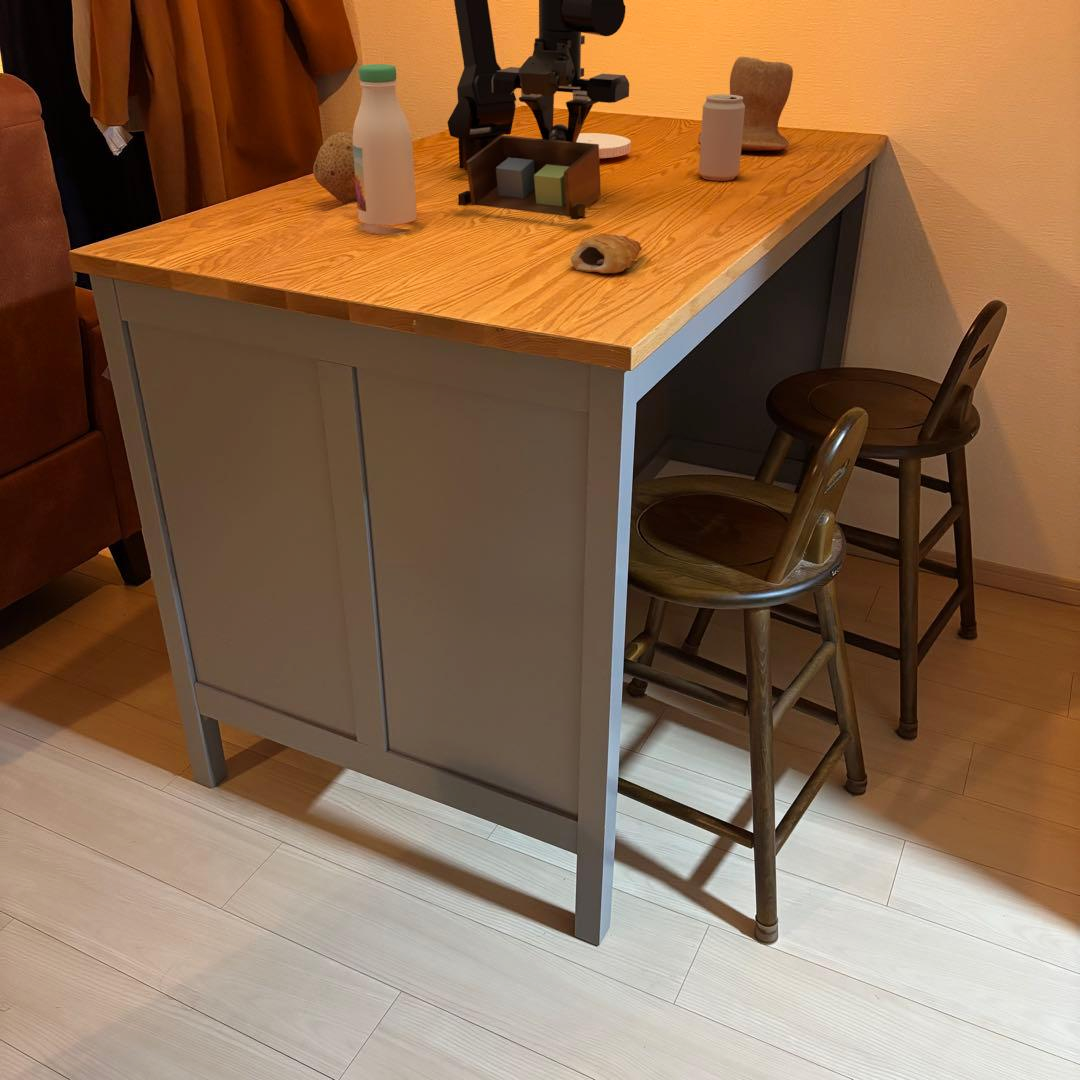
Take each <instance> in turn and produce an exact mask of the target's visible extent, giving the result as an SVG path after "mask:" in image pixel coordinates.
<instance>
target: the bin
mask: <svg viewBox="0 0 1080 1080" xmlns="http://www.w3.org/2000/svg"><path fill="white" fill-rule="evenodd" d="M567 134H568V126H566V125H565V124H563V123H557V124H553V127H552V128H551V129H550V131H549V135H548V138H549V139H548V140H547V139H542V138H534V137H526V136H515V135H506V134H505V135H500V136H499V137H497V138H496V139H495V140H494V141H492V142H491V143H490V144H488V145H487V146H486V147H485V148H483V149H482V150H481V151H479V152H478V153H477V154H475V155H474V156H473V157H472V158H470V159H469V160H468V161H466V165H467V170H466V171H467V180H468V188H469V191H470V197H471V203H470V204H471V205H472V206H480V207H481V206H482V207H488V208H497V209H504V210H505V209H506V210H512V211H513V210H514V211H522V212H529V213H530V212H531V213H536V214H537V213H538V214H545V215H552V216H553V215H554V216H562V217H568V218H569V217H570V218H571V208H572V207H574V206H576V205H578V204H583V205H585V210H586V209H587V208H589V207H591V206H592V205H593V203H595V202H596V200H598V198H599V197H601V195H602V192H601V191H602V190H601V167H600V158H599V144H590V143H579V142H569V141H567ZM507 158H519V159H529V160H534V169H535V174H536V173H537V172H538V171H539V170H540V169H542V168H543V167H544V166H545V165H546V164H549V165H558V166H568V167H569V168H568V169H567V170H565V171H564V184H565V199H566V204H565V205H563V206H553V205H545V204H537V203H536V194H535V189H534V190H533V191H532V192H531V193H529V194H528V195H527V196H526V197H525V198H524V199H522V198H514V197H506V196H499V195H498V185H497V176H496V167H497V166H499V165H500V164H501V163H502V162H504V161H505V160H506V159H507Z"/></svg>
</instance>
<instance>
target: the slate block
mask: <svg viewBox="0 0 1080 1080" xmlns="http://www.w3.org/2000/svg"><path fill="white" fill-rule="evenodd" d="M534 175H535V169H534V160H529V159H519V158H507V159H506V160H505V161H504V162H502V163H501V164H500V165H499V166H497V167H496V176H497V185H498V195H499V196H506V197H514V198H522V199H524V198H525V197H526V196H527V195H528V194H529V193H531V192H532V191H533V190H534V189H535V182H534Z"/></svg>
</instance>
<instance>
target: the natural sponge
mask: <svg viewBox="0 0 1080 1080" xmlns="http://www.w3.org/2000/svg"><path fill="white" fill-rule="evenodd" d="M312 172H313V176H314V179H315V180H316V182H317V183H318V185H320V186H321V187H322V188H323V189H325V190H326V191H327V192H328V193H330V194H331V195H332V197H334V198H335V199H337V200H338V201H339V202H340V203H341V204H342V205H343V204H344V205H349V204H351V203H354V202H357V195H356V183H355V170H354V156H353V133H351V132H347V131H340V132H336V133H334V134H331V135H330V136H329V137H327V138H326V139H325V141H323V143H322V144H321V146H320V148H319V150H318V152H317V155H316V158H315V160H314V163H313V167H312Z"/></svg>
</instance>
